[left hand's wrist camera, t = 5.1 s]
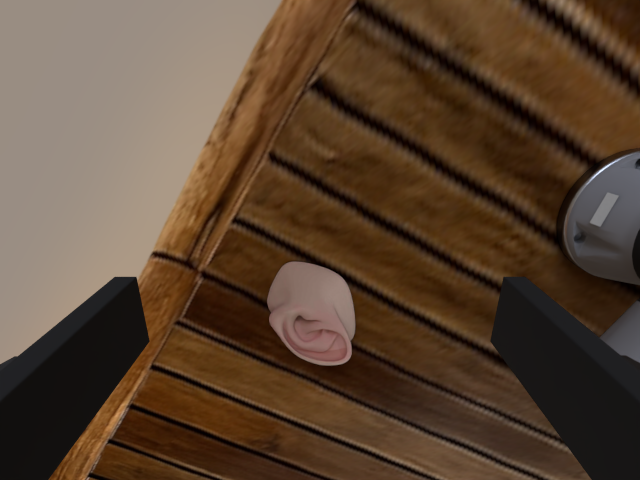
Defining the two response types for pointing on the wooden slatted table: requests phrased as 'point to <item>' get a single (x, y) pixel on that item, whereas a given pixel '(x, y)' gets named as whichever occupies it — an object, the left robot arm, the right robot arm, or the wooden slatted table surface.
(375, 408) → the wooden slatted table surface
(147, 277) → the wooden slatted table surface
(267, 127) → the wooden slatted table surface
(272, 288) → the anatomical model
